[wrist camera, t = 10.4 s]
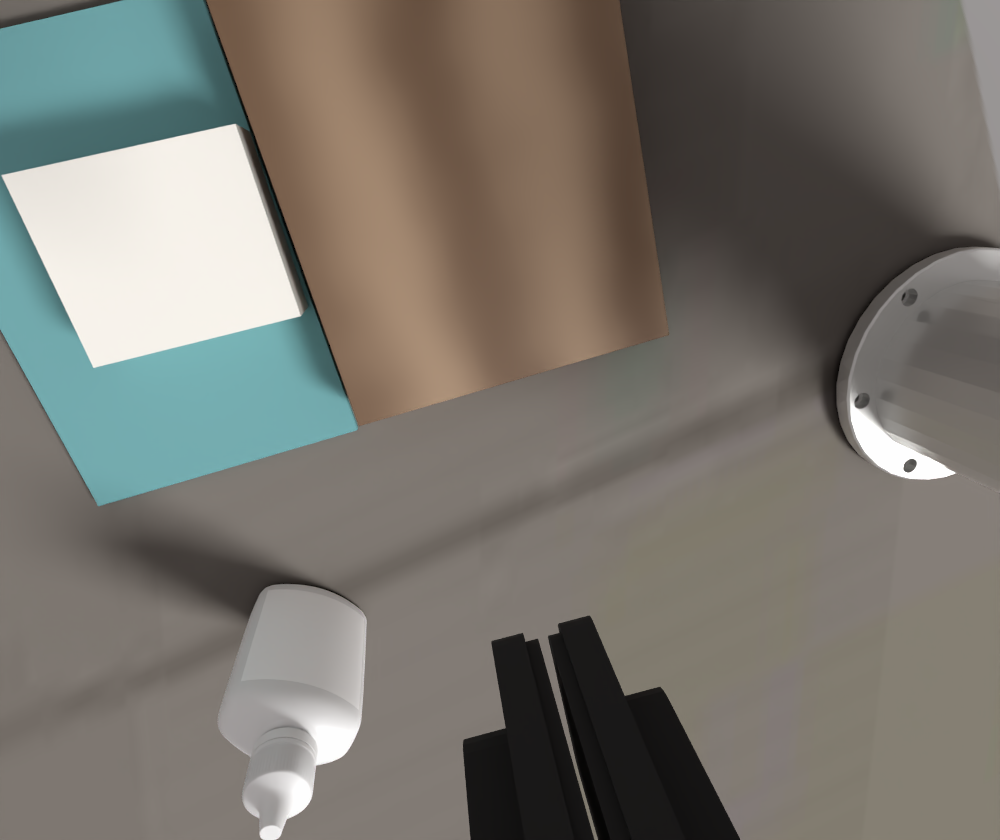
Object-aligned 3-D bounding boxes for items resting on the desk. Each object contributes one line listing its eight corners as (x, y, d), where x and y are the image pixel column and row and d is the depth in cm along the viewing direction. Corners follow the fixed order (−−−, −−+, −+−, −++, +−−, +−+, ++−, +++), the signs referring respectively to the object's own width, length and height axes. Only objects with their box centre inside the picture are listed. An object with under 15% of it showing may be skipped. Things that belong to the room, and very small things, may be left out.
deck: (578, -69, 24) (603, -105, 21) (642, 322, 30) (669, 334, 27) (224, 14, 23) (201, -12, 20) (361, 404, 29) (359, 426, 26)
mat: (200, -13, 23) (196, -17, 22) (357, 426, 29) (357, 430, 29) (-139, 65, 22) (-148, 62, 21) (102, 502, 28) (98, 506, 28)
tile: (249, 131, 24) (235, 123, 22) (308, 306, 27) (301, 316, 24) (39, 178, 23) (1, 175, 21) (119, 353, 26) (93, 367, 24)
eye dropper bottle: (307, 553, 31) (263, 751, 20) (378, 623, 33) (375, 839, 22) (238, 602, 31) (156, 826, 20) (313, 669, 33) (276, 906, 22)
